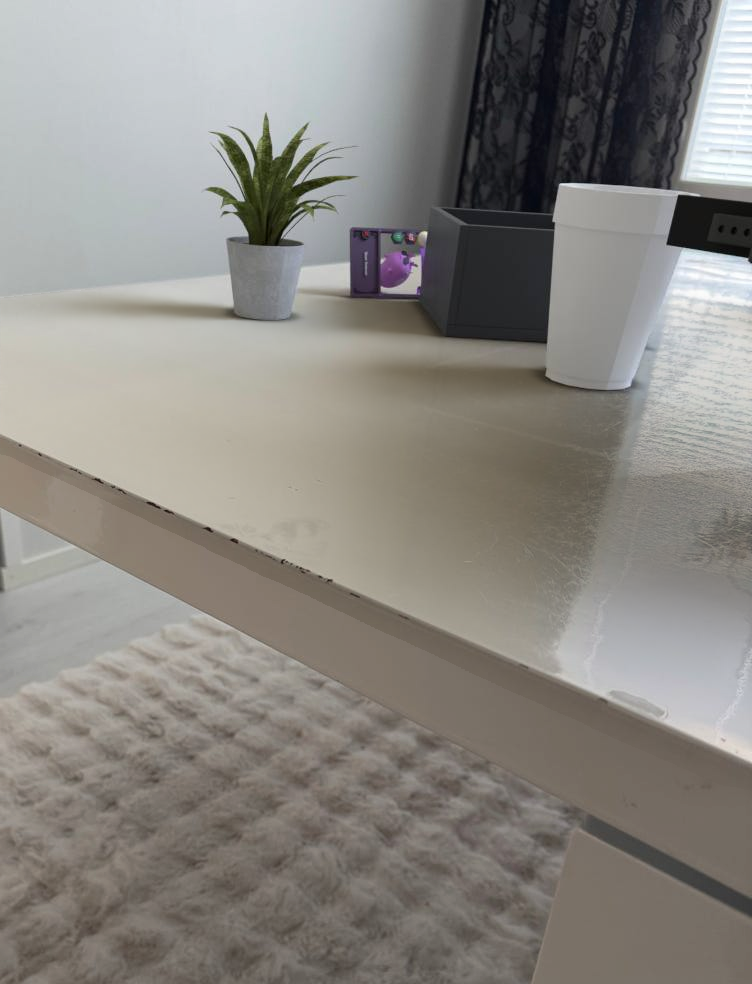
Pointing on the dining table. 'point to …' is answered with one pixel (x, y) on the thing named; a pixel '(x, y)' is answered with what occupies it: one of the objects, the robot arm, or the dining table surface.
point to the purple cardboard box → (367, 261)
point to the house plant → (268, 223)
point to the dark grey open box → (488, 273)
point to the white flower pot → (607, 280)
